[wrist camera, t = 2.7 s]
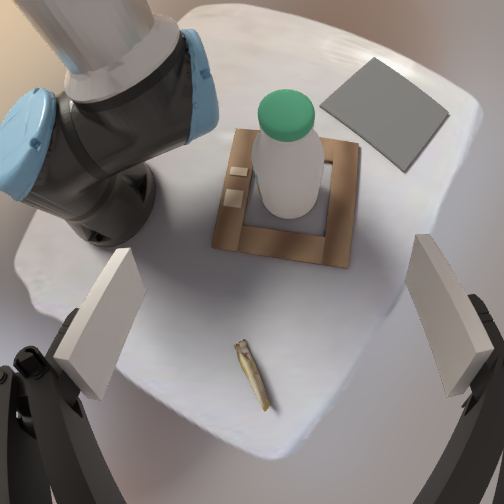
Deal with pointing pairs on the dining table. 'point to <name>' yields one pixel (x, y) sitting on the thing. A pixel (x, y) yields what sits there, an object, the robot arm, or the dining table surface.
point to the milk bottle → (287, 154)
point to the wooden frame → (282, 242)
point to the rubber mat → (386, 112)
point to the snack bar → (252, 373)
